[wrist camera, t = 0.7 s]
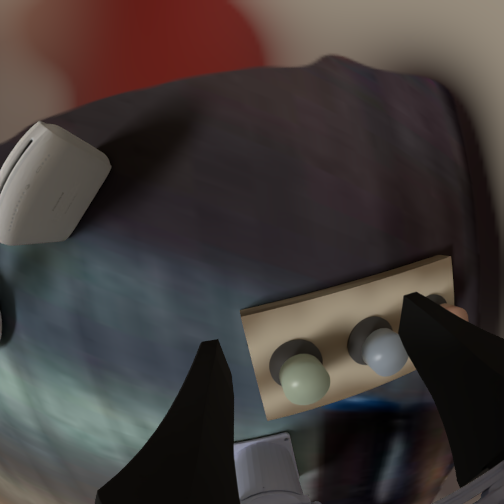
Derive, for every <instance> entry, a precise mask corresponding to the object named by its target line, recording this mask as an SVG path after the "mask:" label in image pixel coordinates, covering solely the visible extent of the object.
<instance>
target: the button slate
mask: <svg viewBox="0 0 504 504" xmlns="http://www.w3.org/2000/svg"><path fill="white" fill-rule="evenodd" d="M408 357H409V356H408V355H407V353H406V350H405V348H404V346H403V344H402V341H401V339H400V337H399V334H397V333H395V332H394V331H392V330H390V329H388V328H380V329H377V330H375V331H374V332H372V333H371V334H370V335H369V336H368V337H367V338H366V340H365V342H364V344H363V346H362V358H363V360H364V362H365V363H366V364H367V365H368V366H369V367H370V368H371V369H372V370H374V371H375V372H376V373H377V374H378V375H380V376H384V377H387V376H391V375H394V374H396V373H397V372H398V371H400V370H401V369H402V368H403V366H404V365H405V364H406V362H407V360H408Z"/></svg>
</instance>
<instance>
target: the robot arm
mask: <svg viewBox="0 0 504 504" xmlns="http://www.w3.org/2000/svg"><path fill="white" fill-rule="evenodd" d="M398 334H399V337H400V339H401V341H402V344H403V346H404V348H405V350H406V353H407V355H408V356H409V358H410V360H411V361H412V363H413V365H414V366H415V368H416V370H417V371H418V373H419V375H420V376H421V378H422V380H423V381H424V383H425V385H426V387H427V388H428V390H429V392H430V393H431V395H432V397H433V399H434V401H435V404H436V406H437V409H438V411H439V414H440V416H441V419H442V422H443V424H444V427H445V430H446V433H447V436H448V440H449V444H450V447H451V451H452V455H453V460H454V465H455V470H456V477H457V482H458V484H459V486H460V489H459V490H457V491H455V492H453V493H452V494H450V495H448V496H446V497H444V498H442V499H440V500H438V501H436V502H434V503H432V504H463V503H465V502H466V501H468V500H470V499H472V498H473V497H475V496H476V495H478V494H479V493H481V492H482V494H481V498H480V499H479V500H478V501H476V502H475V503H473V504H504V339H503V338H500V337H498V336H496V335H493V334H491V333H489V332H487V331H485V330H483V329H481V328H479V327H477V326H475V325H473V324H471V323H469V322H467V321H466V320H464V319H462V318H460V317H459V316H457V315H455V314H454V313H452V312H450V311H448V310H447V309H445V308H444V307H442V306H440V305H439V304H437V303H435V302H434V301H432V300H430V299H429V298H427V297H425V296H424V295H422V294H420V293H418V292H413V293H410V294H407V295H404V296H403V304H402V311H401V318H400V324H399V330H398ZM285 438H288V439H285ZM487 471H488V472H487ZM484 473H485V474H484ZM481 475H482V476H481ZM479 476H480V477H479ZM476 478H477V479H476ZM473 480H474V481H473ZM468 483H469V484H468ZM465 485H466V486H465ZM463 486H464V487H463ZM461 487H462V488H461ZM95 504H321V503H320V502H318V501H316V502H312V503H311V500H310V498H309V495H303V492H302V489H301V485H300V482H299V473H298V469H297V465H296V460H295V456H294V452H293V447H292V443H291V439H290V435H289V433H288V432H284V433H280V434H276V435H271V436H267V437H263V438H258V439H253V440H248V441H243V442H238V443H234V393H233V383H232V375H231V372H230V369H229V366H228V364H227V361H226V359H225V356H224V354H223V351H222V348H221V346H220V343H219V340H218V339H217V340H211V341H205V342H202V343H201V344H200V346H199V349H198V351H197V354H196V356H195V359H194V361H193V363H192V366H191V368H190V370H189V373H188V375H187V377H186V379H185V381H184V383H183V385H182V387H181V389H180V391H179V393H178V395H177V397H176V398H175V400H174V402H173V404H172V406H171V408H170V409H169V411H168V413H167V414H166V416H165V417H164V419H163V421H162V422H161V423H160V425H159V426H158V428H157V429H156V431H155V432H154V433H153V435H152V436H151V437H150V439H149V440H148V441H147V443H146V444H145V445H144V446H143V448H142V449H141V450H140V451H139V452H138V453H137V454H136V455H135V457H134V458H133V459H132V460H131V461H130V462H129V463H128V464H127V465H126V466H125V467H124V468H123V469H122V470H121V471H120V472H119V473H118V474H117V475H116V476H114V477H113V478H112V479H111V480H110V481H109V482H107V483H106V484H105V485H104V486H103V487H101V488H100V489H99V490H98V491H97V495H96V499H95Z"/></svg>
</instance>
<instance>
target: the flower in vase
mask: <svg viewBox="0 0 504 504" xmlns="http://www.w3.org/2000/svg"><path fill="white" fill-rule="evenodd" d="M1 335H2V318H1V312H0V340H1Z"/></svg>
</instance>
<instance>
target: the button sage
mask: <svg viewBox="0 0 504 504" xmlns="http://www.w3.org/2000/svg"><path fill="white" fill-rule="evenodd" d="M279 379H280V383H281V385H282V388H283V391H284V393H285V396H286V397H287V399H288V400H289V401H291V402H292V403H294V404H297V405H309V404H313V403H315V402H317V401H319V400H320V399H321V398H323V397H324V396H325V394H326V393H327V391H328V390H329V387H330V376H329V374H328V372H327V371H326V369H325V368H324V367H323V365H322V364H321V362H320V361H319V360H318V359H317V358H316V357H315V356H313V355H310V354H298V355H295V356H293V357H291V358H289V359H288V360H287V361H286V362H285V363H284V364H283V365H282V367H281V369H280V372H279Z"/></svg>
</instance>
